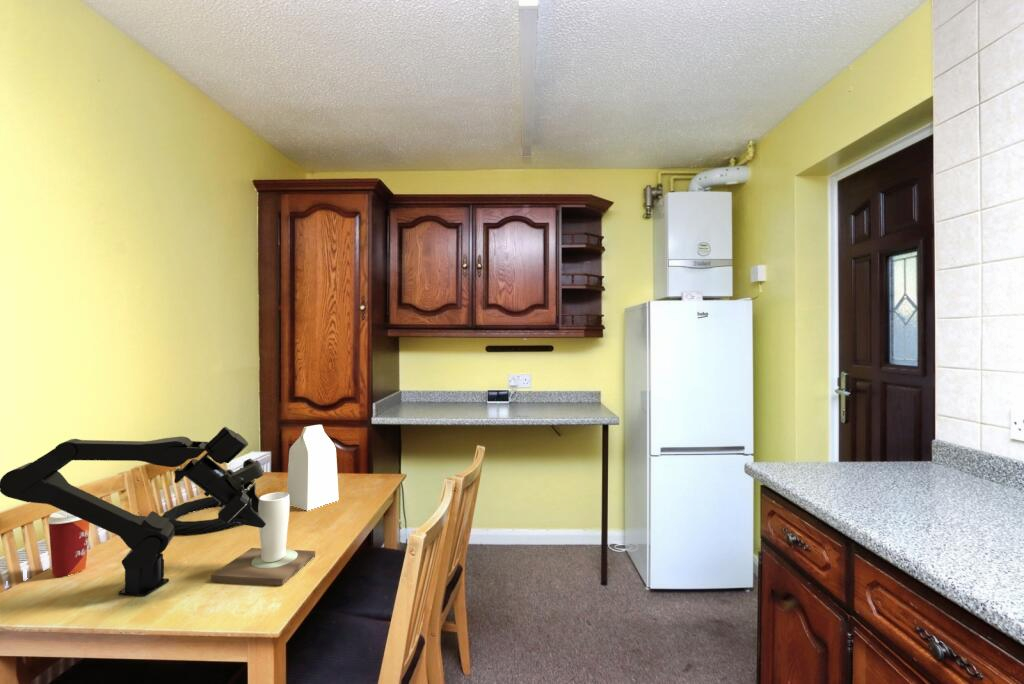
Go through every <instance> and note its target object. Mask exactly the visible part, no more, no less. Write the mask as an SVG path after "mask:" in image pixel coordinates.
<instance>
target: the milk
mask: <svg viewBox="0 0 1024 684" xmlns="http://www.w3.org/2000/svg"><path fill="white" fill-rule="evenodd" d="M337 461H338V460H337V448H336V445H335V444H334V442H333V441H332V439H331V438H330V437H329V436H328V435H327V433H326V432H325V430H324V427H323V424H314V425H309V426H304V427H303V429H302V431H301V434H300V436H299V437H298V438H297V439H296V441H294V443H293V444H291V446H290V447H289V451H288V466H287V483H286V484H287V485H286V493H288V494H289V501H290V505H292V506H295V507H298V508H301V509H304V510H306V511H305V512H309V511H308V510H310V511H312V510H311V509H313V510H315V509H314V508H316V509H318V508H317V507H319V508H321V507H320V506H322V507H324V506H323V505H325V504H328V505H330V504H329V503H331V504H333V503H332V502H334V503H336V502H335V501H337V502H339V501H340V496H339V495H340V494H339V480H338V479H339V478H338V477H339V476H338V462H337ZM338 500H339V501H338ZM325 506H326V505H325ZM295 507H294V508H295ZM298 508H297V509H298ZM301 509H300V510H301ZM304 510H303V511H304Z"/></svg>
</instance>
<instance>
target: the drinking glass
mask: <svg viewBox="0 0 1024 684" xmlns="http://www.w3.org/2000/svg"><path fill="white" fill-rule="evenodd" d="M290 508H291V506H290V501H289V494H288V493H287V492H283V491H282V492H271V493H270V492H269V493H266V494H262V495H261V496H260V497H259V504H258V515H259V516H260V517H261V518H262V520H263V521H264V522H265V523H266V525H265V526H264V527H263V528H259V527H258V529H259V541H260V548H261V559H262V561H264V562H275V561H279V560H281V559H283V558H284V557H285V555H286V549H287V539H288V529H289V520H290V519H289V518H290V510H291V509H290Z"/></svg>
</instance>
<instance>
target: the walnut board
mask: <svg viewBox="0 0 1024 684" xmlns="http://www.w3.org/2000/svg"><path fill="white" fill-rule="evenodd" d="M313 557H314V558H316V550H304V549H303V550H301V549H290V548H286V555H285V557H284V558H283V559H281V560H279V561H275V562H264V561H262V559H261V547H260V548H259V547H251V548H250V549H248V550H246V551H245V552H244V553H242V554H240V555H239V556H237V557H236V558H234V559H233V560H231V561H230V562H229V563H227V564H225V565H224V566H223V567H221V568H219V569H218V570H216V571H215V572H213V573H212V574H211V575H210V582H211V583H225V584H227V583H228V584H243V585H244V584H245V585H246V584H247V585H259V586H260V585H264V586H278V585H283V584H284V583H285V584H286V583H288V581H290V580H291V579H292V578H293V577H294V576H295V575H296V574H297V573H298V571H299V570H300V569H301V568H302V567H303V566H304V565H305V566H307V565H308V564H309V563H310V562H311V561H312V560H313V559H314V558H313ZM312 558H313V559H312ZM311 559H312V560H311ZM310 560H311V561H310ZM309 561H310V562H309ZM308 562H309V563H308ZM307 563H308V564H307ZM306 564H307V565H306ZM305 566H304V567H305ZM304 567H303V568H304ZM303 568H302V569H303ZM302 569H301V570H302ZM301 570H300V571H301ZM300 571H299V572H300ZM296 572H297V573H296ZM295 573H296V574H295ZM294 574H295V575H294ZM293 575H294V576H293ZM292 576H293V577H292ZM291 577H292V578H291ZM290 578H291V579H290ZM289 579H290V580H289ZM285 584H284V585H285ZM284 585H283V586H284Z"/></svg>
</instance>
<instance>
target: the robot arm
mask: <svg viewBox="0 0 1024 684" xmlns="http://www.w3.org/2000/svg"><path fill="white" fill-rule="evenodd" d="M248 446H249V443H248V441H247V440H246V438H244V437H243V436H242V435H241V434H240V433H238V432H235V431H234V430H232V429H231V428H230V429H229V428H228V426H223V427H222V428H221V429H220V430H219V431H218V433H217V434H216V435H215V436H214V437H213V438H212V439H210V440H209V441H199V440H191V439H190V438H189V437H187V436H180V435H179V436H174V437H173V436H171V437H164V438H158V439H153V440H146V441H143V440H140V441H139V440H103V439H102V440H99V439H98V440H97V439H96V440H95V439H91V440H90V439H78V438H70V439H68V440H65V441H63V442H61V443H59V444H57V445H56V446H55V448H53V449H51V450H50V451H48V452H47V453H45V454H44V455H42V456H40V457H38V458H37V459H35V460H34V461H31V462H28V463H26V464H23V465H21V466H18V467H16V468H14V469H12V470H10V471H8V472H6V473H4V474H3V475H2V477H1V478H0V493H1V494H2V495H3V496H5V497H6V498H10V499H14V500H18V501H21V502H25V503H32V504H33V503H34V504H43V505H49V506H52V507H54V508H56V509H58V510H59V511H61V510H63V511H65V512H67V513H69V514H71V515H74V516H76V517H78V518H80V519H83V520H85V521H87V522H89V524H92V525H94V526H96V527H98V528H101V529H103V530H105V531H107V532H110V533H111V534H114V535H116V536H118V537H119V538H120V539H121V540H122V541H123V543H124V544H125V545H126V546H127V547H128V548H129V549H130V550H129V552H128V553H127V554H126V555H125V556H124V558H123V559H122V561H121V565H122V566H123V568H124V569H123V570H124V588H122V589H121V590H119V591H117V595H124V596H140V597H144V596H147V595H148V594H151V593H153V592H154V591H155V590H157V589H159V588H160V587H162V586H163V585H165V584H167V583H169V582H170V578H167V577H166V578H165V574H164V573H165V559H164V554H163V552H164V551H165V550H166V549H167V547H168V546H169V544H170V543H171V541H172V540H173V538H174V536H175V534H174V533H175V530H174V526H173V524H172V523H170V522H169V519H170V518H164V517H161V516H162V515H160V514H159V513H157V512H156V511H153V510H152V511H150V512H149V513H148V515H147V516H145V515H144V516H143V515H137V514H134V513H133V512H130V511H128V510H126V509H123V508H121V507H119V506H117V505H115V504H112V503H110V502H108V501H106V500H104V499H102V498H100V497H98V496H96V495H93V494H91V493H89V492H87V491H85V490H83V489H81V488H79V487H78V486H77V487H76V486H74V485H72V484H70V483H69V481H68V480H67V479H66V478H65V477H64V475H62V473H61V472H60V471H59V470H61V469H63V468H64V467H65V466H67V465H68V464H69V463H70V462H73V461H105V462H106V461H107V462H109V461H113V462H114V461H118V462H119V461H120V462H121V461H122V462H123V461H125V462H128V461H129V462H133V461H135V462H137V461H138V462H144V463H148V464H150V465H154V466H161V467H166V468H167V467H168V468H175V470H174V471H173V472H174V484H178V483H179V482H180V481H181V480H183V478H184V477H186V478H187V479H188V480H189V481H190V482H192V483H194V484H195V485H196V486H197V487H199V488H200V489H201V490H203V491H204V493H203V495H204V496H205V497H206V498H207V497H213V498H214V499H216V500H217V501H218V502H220V503H219V506H218V507H220V508H219V511H218V513H217V518H218V519H219V520H220V521H221V522H223V523H224V524H226V523H227V522H228V523H229V524H231V523H233V524H241V526H248V527H254V528H258V529H259V528H263V527H264V526H265V525H266V523H265V522H264V521H263V520H262V518H261V517H260V516H259V515H258V514H257V513H258V504H259V498H260V497H259V496H258V495H257V492H256V484H257V483H256V482H255V481H256V479H258V480H259V478H261V477H262V476H264V472H265V470H264V469H263V467H262V465H261V462H260V461H259V460H253V459H252V458H248V459H246V460H243V465H242V467H240V468H239V469H238V470H236V471H233V470H232V469H225V468H223V467H222V466H220V465H222V464H224V463H225V464H230V462H232V461H233V460H234V459H235V458H236V457H237V456H238V455H239V454H241V452H242V451H244V449H246V448H247V447H248ZM204 452H205V454H203V453H204ZM202 454H203V455H202ZM201 455H202V456H201ZM200 456H201V457H200ZM198 457H200V458H199V459H197V458H198ZM188 460H190V461H188ZM187 461H188V462H187ZM186 462H187V463H186ZM185 463H186V464H185ZM183 464H185V465H184V466H183V467H180V466H182V465H183ZM176 467H178V468H176ZM179 467H180V468H179ZM250 485H251V486H250ZM256 512H257V513H256Z"/></svg>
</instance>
